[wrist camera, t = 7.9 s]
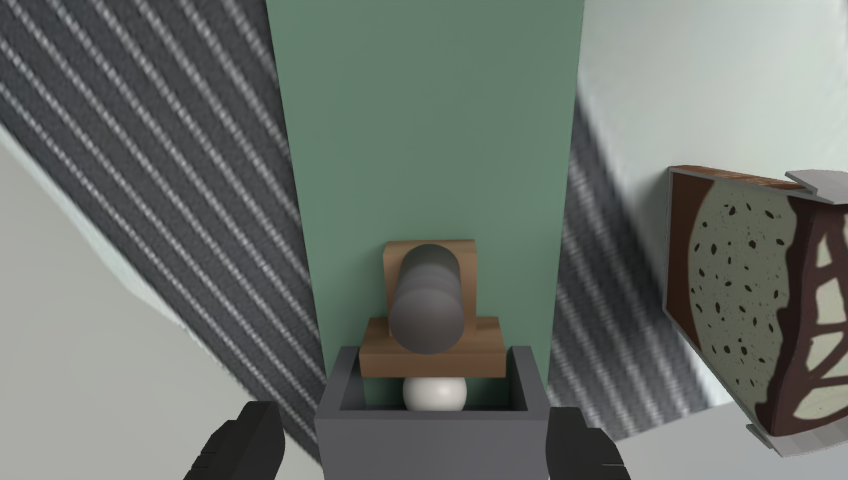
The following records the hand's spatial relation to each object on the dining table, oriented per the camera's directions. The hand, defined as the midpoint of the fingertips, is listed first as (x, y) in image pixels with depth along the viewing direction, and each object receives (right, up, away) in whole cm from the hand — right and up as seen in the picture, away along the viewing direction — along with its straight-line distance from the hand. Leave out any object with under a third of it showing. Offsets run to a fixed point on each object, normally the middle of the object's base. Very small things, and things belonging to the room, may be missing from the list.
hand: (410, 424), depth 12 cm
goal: (+1, -4, +16) cm, 16 cm away
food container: (+18, +6, +12) cm, 22 cm away
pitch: (+1, +6, +13) cm, 14 cm away
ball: (+1, -4, +13) cm, 14 cm away
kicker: (+1, +3, +13) cm, 13 cm away
